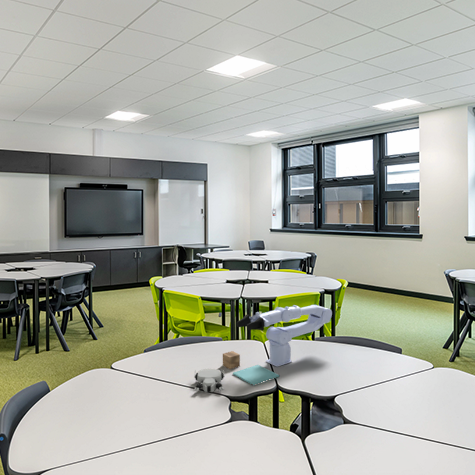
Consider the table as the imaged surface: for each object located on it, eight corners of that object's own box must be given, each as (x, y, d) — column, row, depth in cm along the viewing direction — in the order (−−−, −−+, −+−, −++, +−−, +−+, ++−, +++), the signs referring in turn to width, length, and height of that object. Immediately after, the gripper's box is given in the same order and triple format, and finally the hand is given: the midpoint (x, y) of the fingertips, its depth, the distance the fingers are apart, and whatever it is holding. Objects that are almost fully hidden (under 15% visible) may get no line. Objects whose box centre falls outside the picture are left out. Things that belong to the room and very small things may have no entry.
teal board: (257, 366, 186) (257, 364, 186) (279, 376, 175) (279, 375, 175) (232, 374, 178) (232, 372, 178) (253, 386, 167) (253, 384, 167)
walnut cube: (232, 362, 191) (232, 351, 191) (239, 366, 187) (239, 354, 186) (222, 365, 188) (222, 353, 187) (229, 369, 184) (229, 357, 183)
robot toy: (225, 396, 160) (224, 377, 175) (224, 385, 160) (224, 367, 174) (193, 397, 160) (195, 378, 175) (192, 386, 159) (194, 367, 174)
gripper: (256, 308, 191) (231, 314, 184) (276, 312, 179) (251, 319, 172) (257, 323, 191) (233, 330, 184) (278, 328, 179) (253, 335, 172)
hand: (242, 325), depth 178 cm, fingers open, 7 cm apart
